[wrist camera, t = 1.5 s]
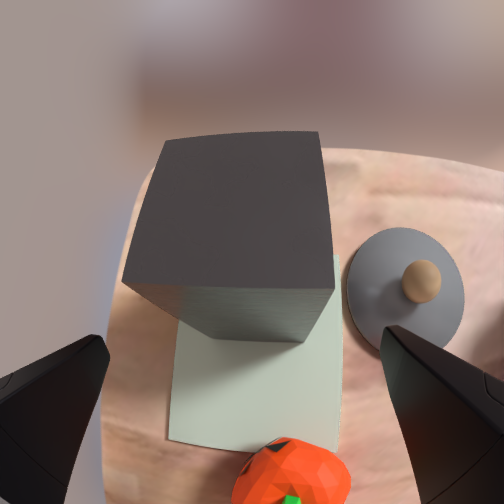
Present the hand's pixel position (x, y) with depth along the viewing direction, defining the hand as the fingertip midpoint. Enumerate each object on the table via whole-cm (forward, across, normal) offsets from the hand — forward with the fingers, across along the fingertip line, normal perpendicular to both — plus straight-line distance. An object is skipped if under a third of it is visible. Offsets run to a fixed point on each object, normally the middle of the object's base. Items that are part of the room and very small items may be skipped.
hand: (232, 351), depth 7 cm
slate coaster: (+11, -12, +5) cm, 17 cm away
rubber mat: (+9, 0, +8) cm, 12 cm away
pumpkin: (+2, -2, +14) cm, 15 cm away
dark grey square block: (+11, 0, +4) cm, 12 cm away
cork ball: (+11, -12, +5) cm, 17 cm away
